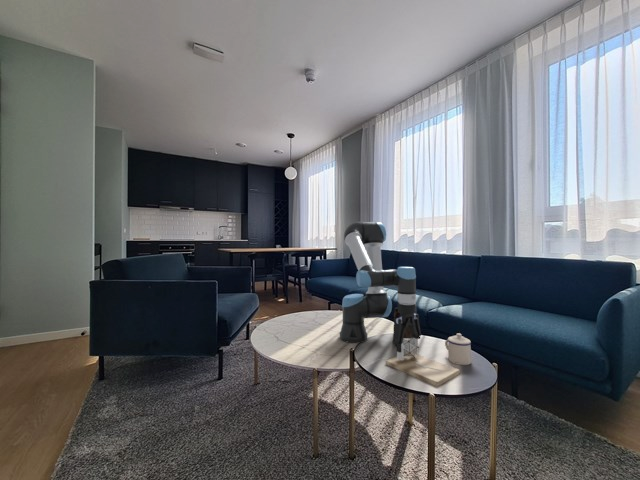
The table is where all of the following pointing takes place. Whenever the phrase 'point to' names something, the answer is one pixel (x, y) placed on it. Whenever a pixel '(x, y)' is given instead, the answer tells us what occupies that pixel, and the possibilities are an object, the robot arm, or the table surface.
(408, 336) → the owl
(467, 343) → the teacup with lid
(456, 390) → the table surface
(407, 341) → the game die
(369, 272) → the robot arm
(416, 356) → the board
